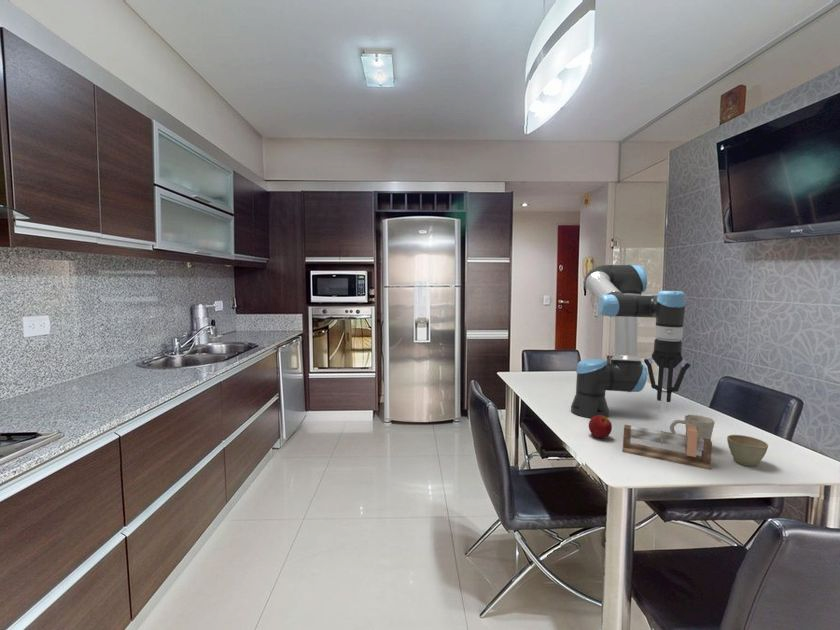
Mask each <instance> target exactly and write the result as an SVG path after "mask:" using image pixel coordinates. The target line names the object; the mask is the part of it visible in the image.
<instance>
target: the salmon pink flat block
mask: <svg viewBox="0 0 840 630" xmlns="http://www.w3.org/2000/svg"><path fill="white" fill-rule="evenodd" d="M697 434H698V431H697V428H696V425H690V424H687V427H686V426H685V435H687V448H685V447H684V449H685V453H686V455H687V456H693V457H696V455H697V450H696V448H697Z"/></svg>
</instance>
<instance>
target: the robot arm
mask: <svg viewBox="0 0 840 630" xmlns="http://www.w3.org/2000/svg"><path fill="white" fill-rule="evenodd" d="M647 285H648V278H647V274H646V270H645V269H644V268H643V267H642V265H637V264H636V265H633V264H602V265H598V266H596V267H593V268H592V269H590V270H589V271H588V272H586V275H585V278H584V286H585V288H586V289H587V290H588V291H589V293H592V294H594V295H595V297H596V298H597V299H598V300H599V301H598V311H599V314H600V315H601V316H605V317H610V318H611V317H614V355H613V356H612V357H611V358H610V362H608V360H607V359H604V358H587V359H583V360H580V361H578V363H577V367H576V383H575V385H576V386H575V395H574V397H573V400H572V403H571V405H570V412H571V413H572V414H574V415H576V416H579V417H583V418H587V419H591V418H593V417H594V416H597V415H602V416H605V417H606V418H608V417H609V415H610V409H609V406H608V403H607V399H606V391H608V392H609V391H611V392H626V393H639V392H641V391H643V389H644V388H645V386H646V383H647V380H648V377H649V382H650V386H651V388H652V389H654V390H656V391H657V392H656V393H657V394H656V400H657V401H658V402H660V404H659V405H660V406H659V412H661V413H666V412H667V403H670V402H671V401H672V393H675V392H678V391H680V387H681V385H682V381H683V379H684V376H685V375H686V372H687V371H688V369H690V367H691V364H690V362H689V361H686V360H685V359H684V358H683V356H682V348H683V341H682V339H683V334H684V324H685V323H684V321H685V312H686V311H685V309H686V304H687V303H686V293H685V292H684V291H681V290H678V291H676V290H660V291H659V292H658V293H657V294H651V295H644V294H643V295H642V293H645V292H646V290H647V288H648V287H647ZM638 318H651V319H652V318H654V319H655V328H654V329H655V330H654V337H655V339H654V343H653V344H654V345H653V352H652V354H651V356H649V357H645V358H644V359H643V363H644V364H645V365H644V364H643V363H642V360H641V358H639V357H638ZM653 361H654V363H655V365H656V366H658V376H657V378H658V379H657V384H656V380H655V375H654V371H653V366H652V364H653ZM679 364H680V370H679V371H678V375H677V377H676V380H675V383H674V384H673V377H674V375H673V373H674V369H675V368H677V366H678V365H679ZM664 369H667V382H666V383H667V384H666V389H665V390H664V389H663V382H664V372H665V371H664ZM673 385H674V386H673Z"/></svg>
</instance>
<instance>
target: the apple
mask: <svg viewBox="0 0 840 630" xmlns="http://www.w3.org/2000/svg"><path fill="white" fill-rule="evenodd" d="M588 430H589V432H590V434H591V435H593V436H594V437H595V438H598V439H604V438H607V437H608V436H610V434H611V433H612V430H613V426H612V422H611V421H610V419H608V417H605V416H602V415H597V416H594V417H593V418H590V420H589V422H588Z"/></svg>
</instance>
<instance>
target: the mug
mask: <svg viewBox="0 0 840 630" xmlns="http://www.w3.org/2000/svg"><path fill="white" fill-rule="evenodd" d="M677 424H681V425H685V428H686V427H687V424H690V425H696V428H697V431H698V434H697V437H699V438H708V439H711V440H712V436H713V431H714V427H715V420H714V419H713V418H711V417H708V416H704V415H698V414H686V415H685V416H684V419H683V420H682V419H675V420H673V421H672V422H671V423H670V425H669V430H670V433H675V434H677V432H676V431H675V426H676V425H677Z"/></svg>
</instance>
